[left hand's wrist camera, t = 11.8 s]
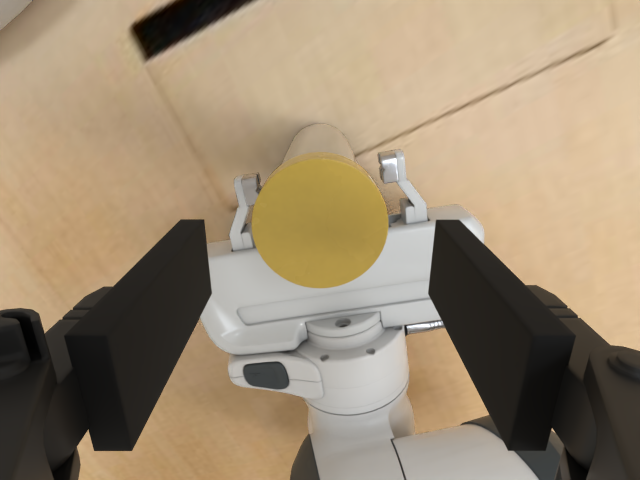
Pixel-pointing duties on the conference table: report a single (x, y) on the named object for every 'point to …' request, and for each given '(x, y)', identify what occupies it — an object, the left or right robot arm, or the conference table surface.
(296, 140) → the jar
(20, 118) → the conference table surface
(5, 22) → the projector
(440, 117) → the conference table surface
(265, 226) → the lid
